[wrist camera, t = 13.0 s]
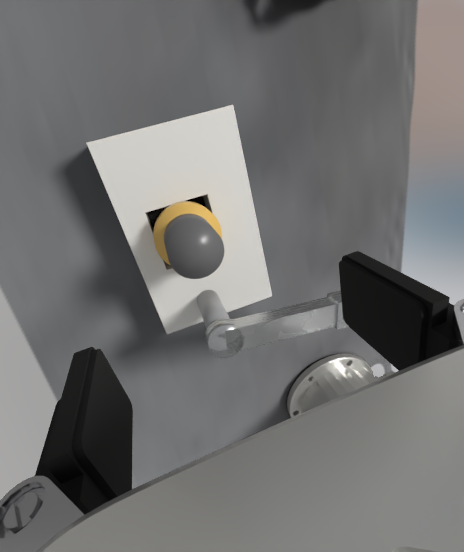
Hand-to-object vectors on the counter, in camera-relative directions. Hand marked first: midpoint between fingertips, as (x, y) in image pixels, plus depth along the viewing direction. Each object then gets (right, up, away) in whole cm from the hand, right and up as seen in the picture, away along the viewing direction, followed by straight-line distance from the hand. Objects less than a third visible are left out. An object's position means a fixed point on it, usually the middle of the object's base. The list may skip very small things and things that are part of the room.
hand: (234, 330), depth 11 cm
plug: (-5, +7, +16) cm, 18 cm away
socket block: (-5, +7, +16) cm, 18 cm away
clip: (+4, -1, +12) cm, 13 cm away
